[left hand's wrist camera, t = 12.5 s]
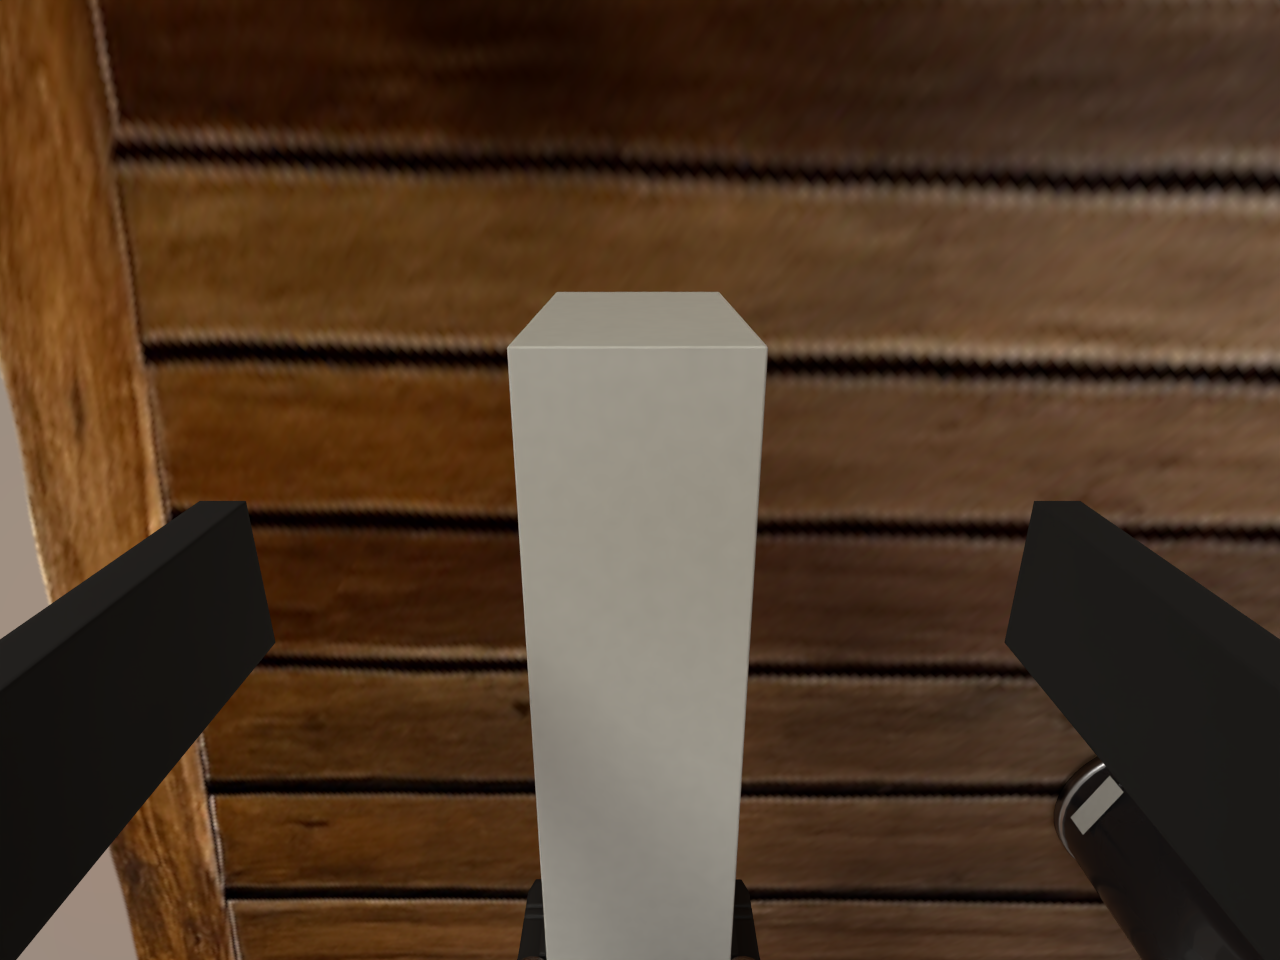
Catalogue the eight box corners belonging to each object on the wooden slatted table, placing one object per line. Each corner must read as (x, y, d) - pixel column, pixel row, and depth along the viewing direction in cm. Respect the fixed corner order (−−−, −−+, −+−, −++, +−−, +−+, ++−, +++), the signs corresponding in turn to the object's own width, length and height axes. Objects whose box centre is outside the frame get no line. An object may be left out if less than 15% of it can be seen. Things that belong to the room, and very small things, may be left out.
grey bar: (555, 291, 22) (506, 346, 14) (719, 291, 22) (768, 345, 14) (579, 876, 31) (557, 1129, 23) (698, 876, 31) (720, 1128, 23)
